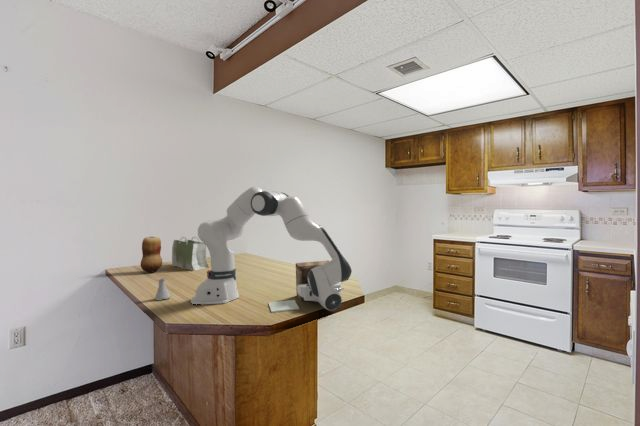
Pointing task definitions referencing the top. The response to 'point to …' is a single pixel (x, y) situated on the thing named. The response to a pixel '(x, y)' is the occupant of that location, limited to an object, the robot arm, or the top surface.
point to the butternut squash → (151, 254)
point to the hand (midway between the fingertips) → (315, 283)
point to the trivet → (283, 306)
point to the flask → (162, 290)
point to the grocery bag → (189, 254)
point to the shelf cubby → (305, 272)
